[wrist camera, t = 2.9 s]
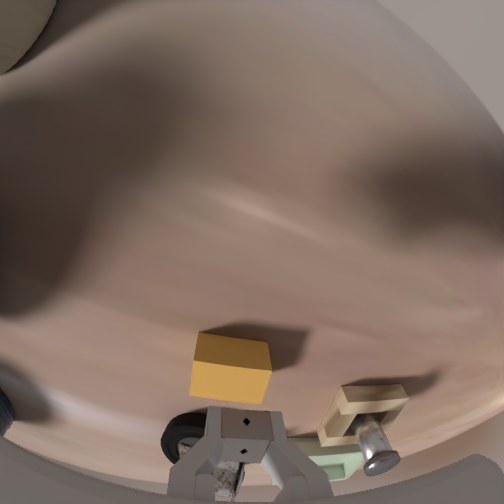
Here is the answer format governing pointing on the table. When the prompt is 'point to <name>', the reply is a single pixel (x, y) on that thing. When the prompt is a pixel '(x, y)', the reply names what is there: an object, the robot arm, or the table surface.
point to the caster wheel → (185, 437)
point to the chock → (230, 369)
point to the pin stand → (360, 411)
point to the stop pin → (374, 444)
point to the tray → (331, 457)
